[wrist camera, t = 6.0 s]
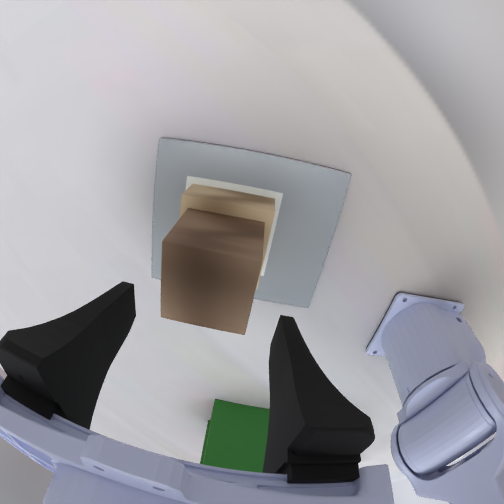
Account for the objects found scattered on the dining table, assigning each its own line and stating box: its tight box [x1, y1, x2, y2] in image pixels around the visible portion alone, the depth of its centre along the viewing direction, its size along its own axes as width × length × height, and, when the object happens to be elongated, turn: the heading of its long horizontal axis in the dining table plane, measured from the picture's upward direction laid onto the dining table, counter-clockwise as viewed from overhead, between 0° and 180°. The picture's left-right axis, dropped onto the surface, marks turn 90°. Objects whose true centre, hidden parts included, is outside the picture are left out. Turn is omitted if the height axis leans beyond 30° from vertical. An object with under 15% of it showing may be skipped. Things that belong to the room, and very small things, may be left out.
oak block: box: [180, 184, 275, 290], centre depth 21 cm, size 6×6×3 cm
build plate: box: [152, 138, 351, 308], centre depth 22 cm, size 14×12×1 cm
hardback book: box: [200, 399, 270, 473], centre depth 25 cm, size 18×7×24 cm, turn 76°
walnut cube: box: [161, 208, 265, 335], centre depth 17 cm, size 5×5×5 cm
